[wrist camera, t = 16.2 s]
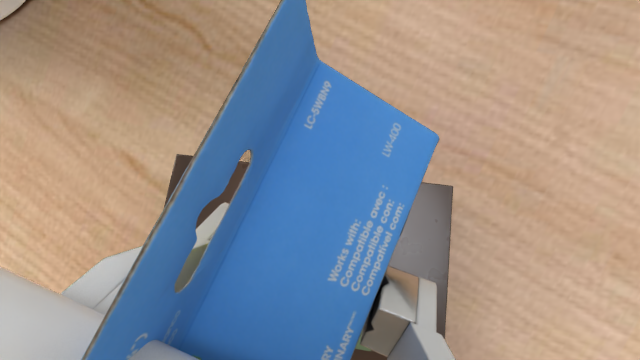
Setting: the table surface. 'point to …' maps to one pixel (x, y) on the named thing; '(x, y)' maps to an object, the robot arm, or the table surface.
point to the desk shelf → (410, 252)
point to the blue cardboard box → (277, 216)
